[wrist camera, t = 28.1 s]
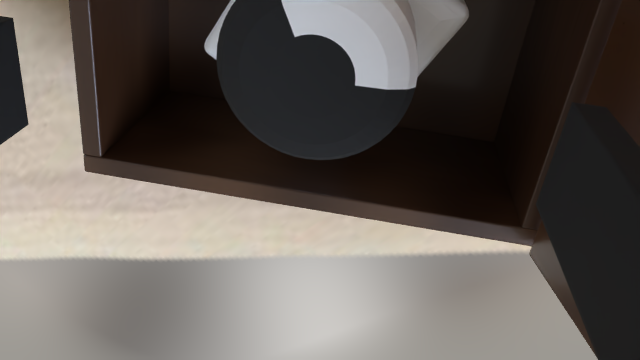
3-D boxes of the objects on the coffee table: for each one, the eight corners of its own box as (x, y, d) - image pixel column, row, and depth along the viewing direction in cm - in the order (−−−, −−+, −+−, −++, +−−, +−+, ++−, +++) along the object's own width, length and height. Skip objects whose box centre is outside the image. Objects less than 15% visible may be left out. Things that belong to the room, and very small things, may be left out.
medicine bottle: (360, 95, 29) (337, 225, 19) (243, 8, 28) (148, 96, 18) (457, -22, 26) (494, 56, 16) (330, -128, 25) (278, -119, 14)
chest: (161, 96, 32) (84, 172, 24) (155, -212, 25) (44, -245, 17) (502, 151, 31) (535, 247, 23) (595, -155, 24) (687, -161, 16)
